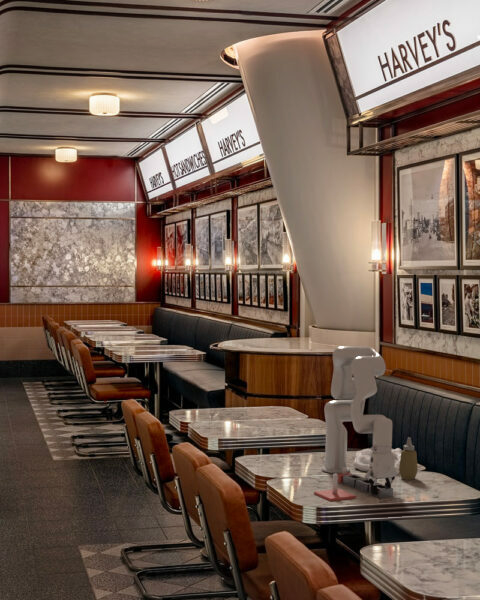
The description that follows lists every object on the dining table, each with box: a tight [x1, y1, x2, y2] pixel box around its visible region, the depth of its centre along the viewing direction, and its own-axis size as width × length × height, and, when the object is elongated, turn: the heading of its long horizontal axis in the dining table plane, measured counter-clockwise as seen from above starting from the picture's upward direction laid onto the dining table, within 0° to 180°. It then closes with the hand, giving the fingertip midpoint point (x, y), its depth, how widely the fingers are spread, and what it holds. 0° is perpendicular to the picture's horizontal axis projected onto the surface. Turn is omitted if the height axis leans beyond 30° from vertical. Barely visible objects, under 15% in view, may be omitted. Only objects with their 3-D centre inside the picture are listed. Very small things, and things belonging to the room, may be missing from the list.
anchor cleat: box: [336, 466, 353, 484], centre depth 376 cm, size 4×7×6 cm, turn 118°
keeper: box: [313, 473, 357, 502], centre depth 351 cm, size 12×12×9 cm
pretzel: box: [352, 447, 402, 474], centre depth 405 cm, size 28×24×6 cm
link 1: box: [342, 473, 366, 489], centre depth 370 cm, size 8×6×4 cm
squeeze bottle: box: [399, 436, 419, 481], centre depth 384 cm, size 8×8×18 cm
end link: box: [368, 483, 394, 499], centre depth 354 cm, size 8×6×4 cm
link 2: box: [355, 479, 380, 494], centre depth 362 cm, size 8×6×4 cm
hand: (380, 493), depth 354 cm, fingers open, 6 cm apart
